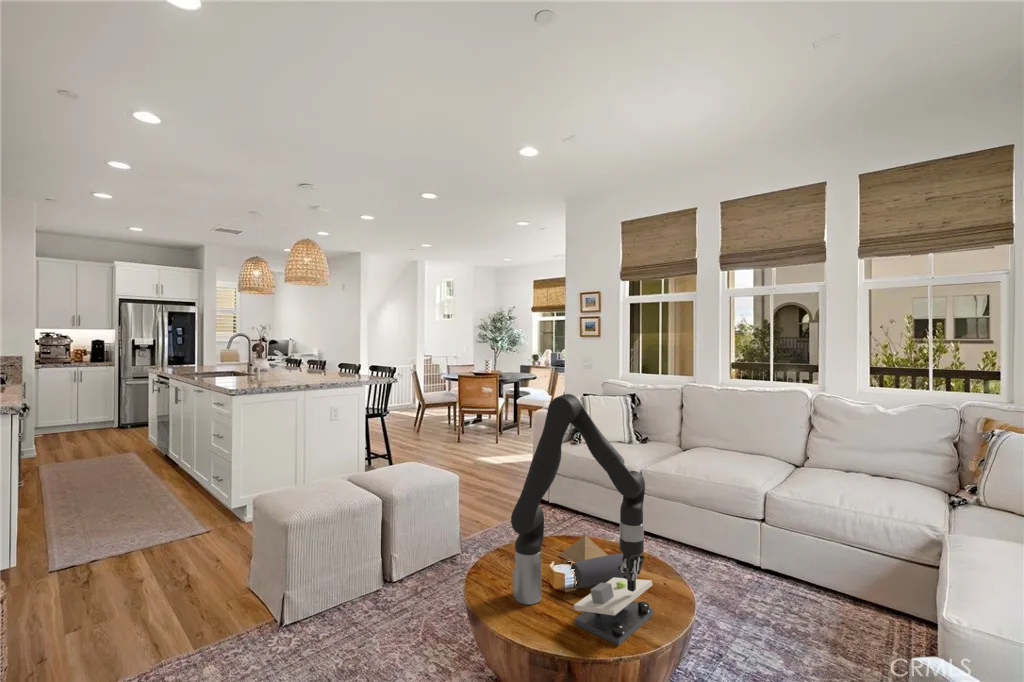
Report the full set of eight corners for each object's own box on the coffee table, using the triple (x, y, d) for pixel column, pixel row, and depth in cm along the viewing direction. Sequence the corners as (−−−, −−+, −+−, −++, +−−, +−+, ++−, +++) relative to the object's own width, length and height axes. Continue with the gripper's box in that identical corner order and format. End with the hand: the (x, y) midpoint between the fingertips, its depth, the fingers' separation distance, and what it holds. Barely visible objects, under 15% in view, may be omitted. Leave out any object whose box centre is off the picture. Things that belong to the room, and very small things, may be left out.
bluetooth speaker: (621, 573, 195) (621, 547, 195) (635, 584, 186) (635, 557, 186) (569, 583, 187) (569, 557, 187) (581, 596, 178) (581, 568, 178)
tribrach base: (574, 624, 161) (574, 605, 161) (611, 597, 177) (611, 580, 177) (618, 646, 150) (618, 625, 150) (653, 614, 166) (653, 596, 166)
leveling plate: (575, 613, 159) (571, 591, 160) (615, 585, 177) (611, 565, 178) (615, 619, 149) (610, 596, 150) (653, 588, 167) (648, 567, 168)
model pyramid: (555, 557, 209) (555, 533, 209) (585, 546, 219) (585, 523, 219) (583, 573, 196) (583, 547, 196) (614, 560, 206) (614, 536, 206)
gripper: (631, 526, 166) (631, 578, 167) (610, 539, 156) (610, 594, 157) (652, 532, 161) (652, 586, 161) (631, 546, 151) (631, 602, 152)
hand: (631, 590), depth 159 cm, fingers closed
